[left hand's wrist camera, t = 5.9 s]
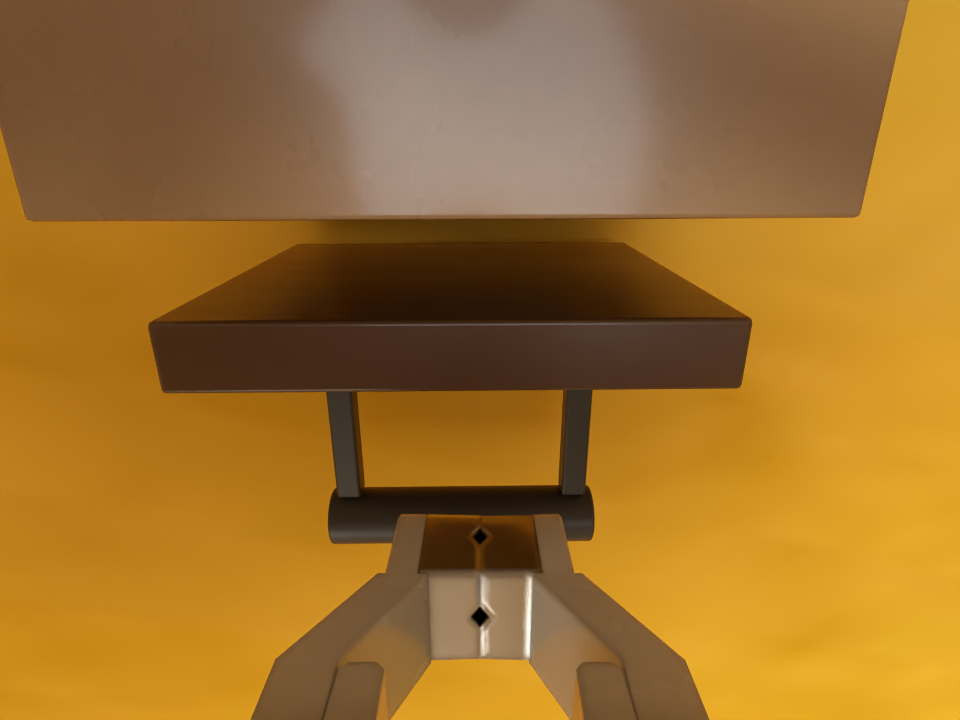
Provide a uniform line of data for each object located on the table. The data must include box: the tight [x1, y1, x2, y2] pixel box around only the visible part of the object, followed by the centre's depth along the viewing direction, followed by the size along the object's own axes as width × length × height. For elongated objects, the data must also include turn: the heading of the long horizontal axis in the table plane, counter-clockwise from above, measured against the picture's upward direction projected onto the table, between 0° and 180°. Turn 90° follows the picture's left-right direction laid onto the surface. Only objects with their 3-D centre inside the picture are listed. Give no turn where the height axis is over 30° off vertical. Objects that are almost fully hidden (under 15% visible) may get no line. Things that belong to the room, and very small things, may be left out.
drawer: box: [148, 243, 752, 544], centre depth 11 cm, size 19×9×8 cm, turn 0°
